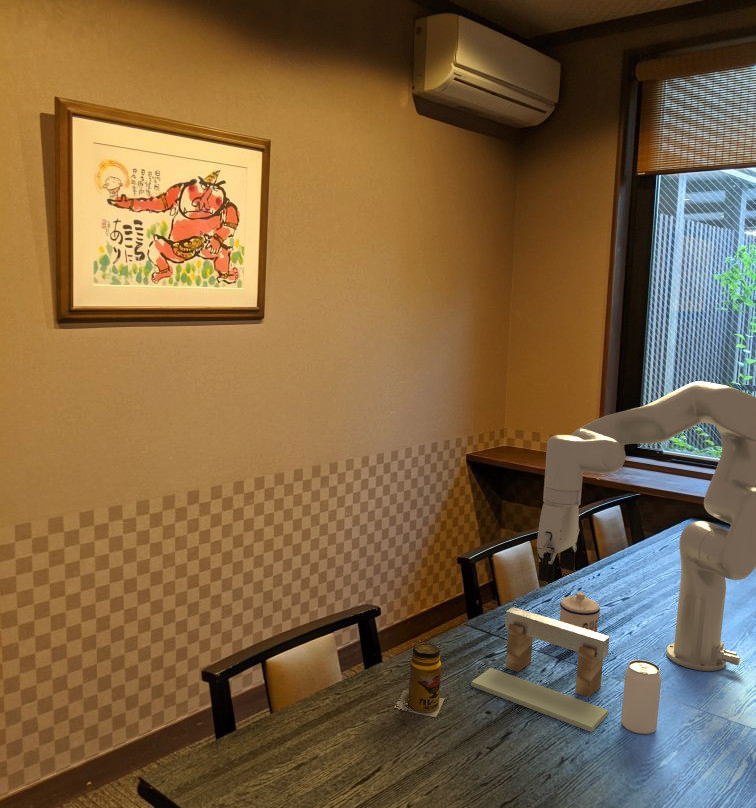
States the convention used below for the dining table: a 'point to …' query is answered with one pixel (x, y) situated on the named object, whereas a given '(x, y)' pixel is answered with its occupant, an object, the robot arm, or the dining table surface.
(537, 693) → the mat
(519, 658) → the post
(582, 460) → the robot arm
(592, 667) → the post
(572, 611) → the teacup with lid
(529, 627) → the rail
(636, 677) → the can
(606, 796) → the dining table surface
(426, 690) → the condiment
